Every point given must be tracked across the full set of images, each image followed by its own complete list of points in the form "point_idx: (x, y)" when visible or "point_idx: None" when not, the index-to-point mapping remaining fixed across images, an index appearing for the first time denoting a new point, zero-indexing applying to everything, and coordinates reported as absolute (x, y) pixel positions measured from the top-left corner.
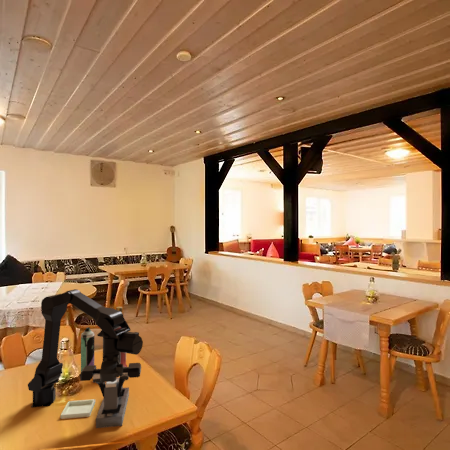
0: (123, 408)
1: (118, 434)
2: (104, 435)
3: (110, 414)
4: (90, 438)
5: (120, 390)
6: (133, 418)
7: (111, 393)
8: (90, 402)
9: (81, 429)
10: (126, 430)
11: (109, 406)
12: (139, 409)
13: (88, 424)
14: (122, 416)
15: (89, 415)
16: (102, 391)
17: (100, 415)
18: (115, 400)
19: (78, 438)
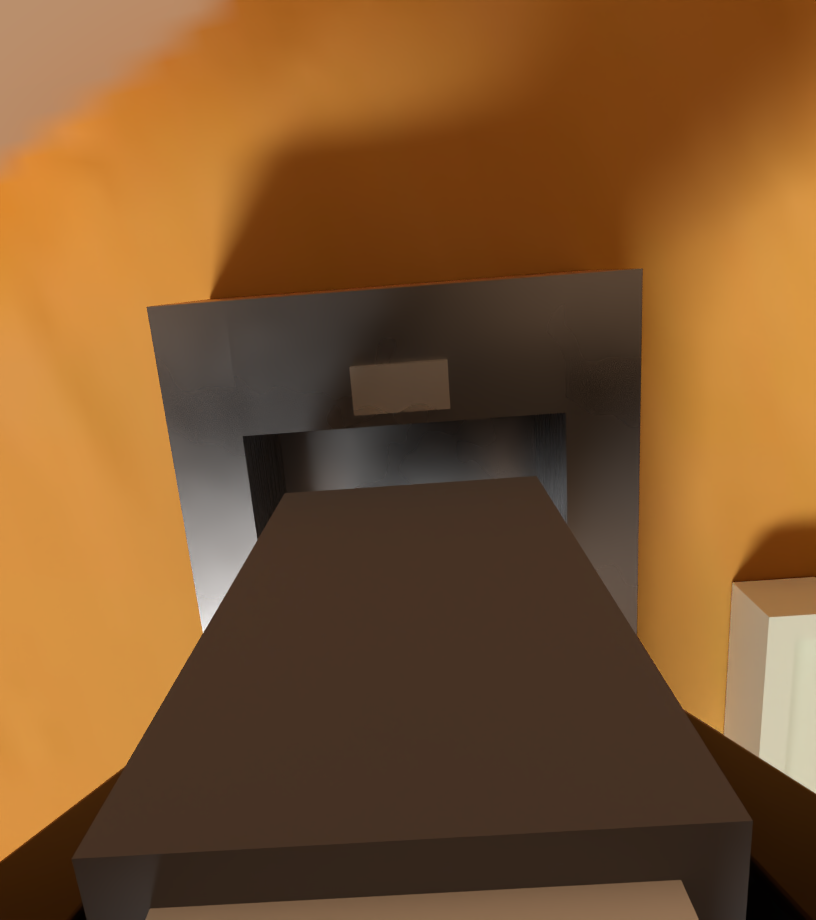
0: (201, 575)
1: (211, 105)
2: (422, 98)
3: (385, 371)
4: (621, 32)
5: (71, 811)
6: (107, 515)
7: (374, 664)
8: None
9: (800, 299)
10: (118, 207)
11: (431, 502)
12: (88, 722)
13: (720, 421)
14: (167, 356)
15: (751, 597)
16: (746, 777)
17: (575, 375)
18: (278, 560)
19: (806, 51)
